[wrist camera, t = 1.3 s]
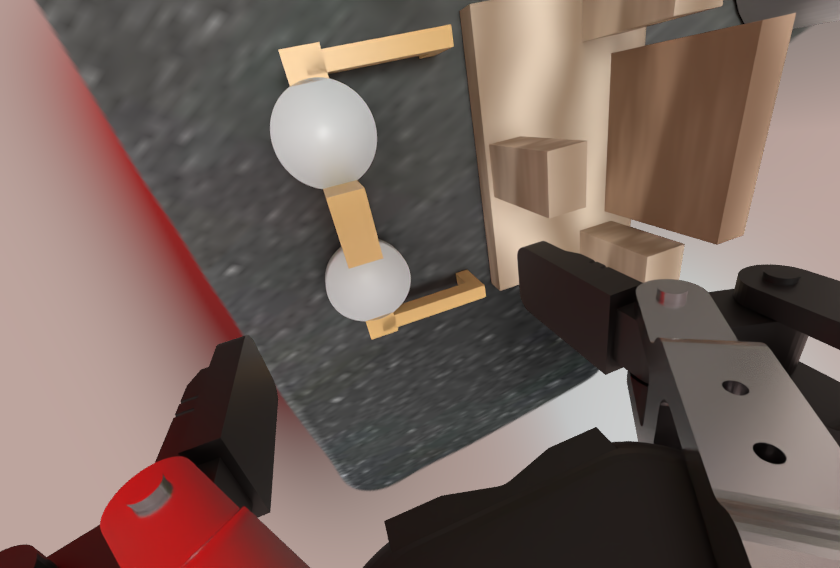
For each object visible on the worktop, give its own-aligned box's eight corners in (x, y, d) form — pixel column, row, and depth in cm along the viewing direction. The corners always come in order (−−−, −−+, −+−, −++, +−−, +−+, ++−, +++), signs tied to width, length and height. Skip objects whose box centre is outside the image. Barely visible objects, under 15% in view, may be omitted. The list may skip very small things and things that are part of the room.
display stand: (631, -21, 24) (836, -109, 15) (615, 241, 33) (738, 288, 23) (459, 11, 22) (575, -69, 13) (491, 283, 30) (573, 353, 21)
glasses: (430, 30, 22) (472, 2, 16) (469, 283, 30) (504, 318, 25) (248, 65, 20) (229, 46, 15) (342, 325, 28) (351, 372, 23)
